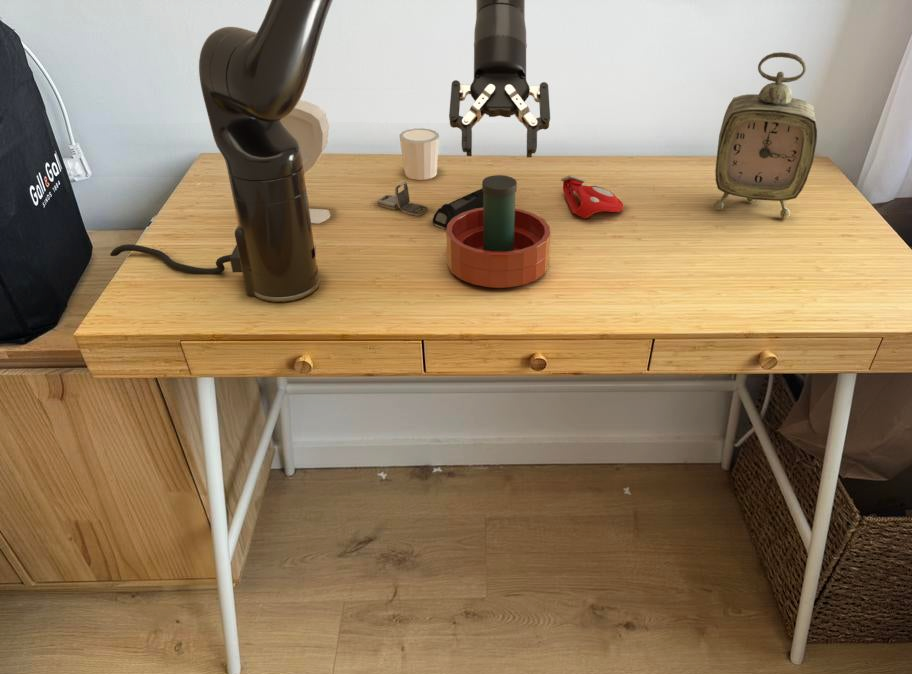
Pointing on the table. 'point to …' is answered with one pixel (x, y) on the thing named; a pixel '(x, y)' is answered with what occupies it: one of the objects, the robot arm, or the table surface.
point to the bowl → (498, 266)
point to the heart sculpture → (309, 140)
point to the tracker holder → (589, 198)
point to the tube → (498, 213)
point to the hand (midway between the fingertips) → (499, 154)
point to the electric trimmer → (458, 208)
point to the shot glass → (420, 153)
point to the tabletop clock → (766, 143)
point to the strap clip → (401, 201)
